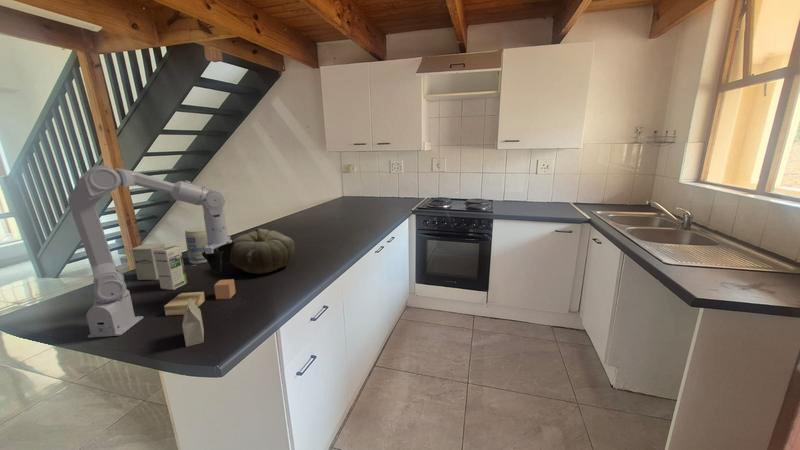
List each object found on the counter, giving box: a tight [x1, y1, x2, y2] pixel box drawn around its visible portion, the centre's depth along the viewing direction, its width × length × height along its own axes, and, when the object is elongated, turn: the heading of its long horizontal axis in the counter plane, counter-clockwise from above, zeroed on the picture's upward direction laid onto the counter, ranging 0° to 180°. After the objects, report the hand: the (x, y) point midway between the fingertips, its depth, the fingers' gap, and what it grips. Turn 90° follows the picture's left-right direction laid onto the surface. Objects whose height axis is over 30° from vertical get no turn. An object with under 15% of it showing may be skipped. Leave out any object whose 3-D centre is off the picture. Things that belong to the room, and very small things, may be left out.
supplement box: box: [131, 243, 166, 281], centre depth 121 cm, size 7×7×13 cm
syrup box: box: [153, 245, 188, 291], centre depth 112 cm, size 6×6×14 cm
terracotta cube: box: [213, 278, 236, 300], centre depth 105 cm, size 4×4×5 cm
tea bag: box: [181, 298, 205, 348], centre depth 81 cm, size 4×7×10 cm, turn 31°
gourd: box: [230, 228, 296, 275], centre depth 130 cm, size 25×25×17 cm
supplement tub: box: [184, 226, 208, 265], centre depth 139 cm, size 10×10×15 cm
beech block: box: [163, 291, 206, 316], centre depth 98 cm, size 9×7×3 cm
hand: (222, 267), depth 104 cm, fingers open, 7 cm apart
